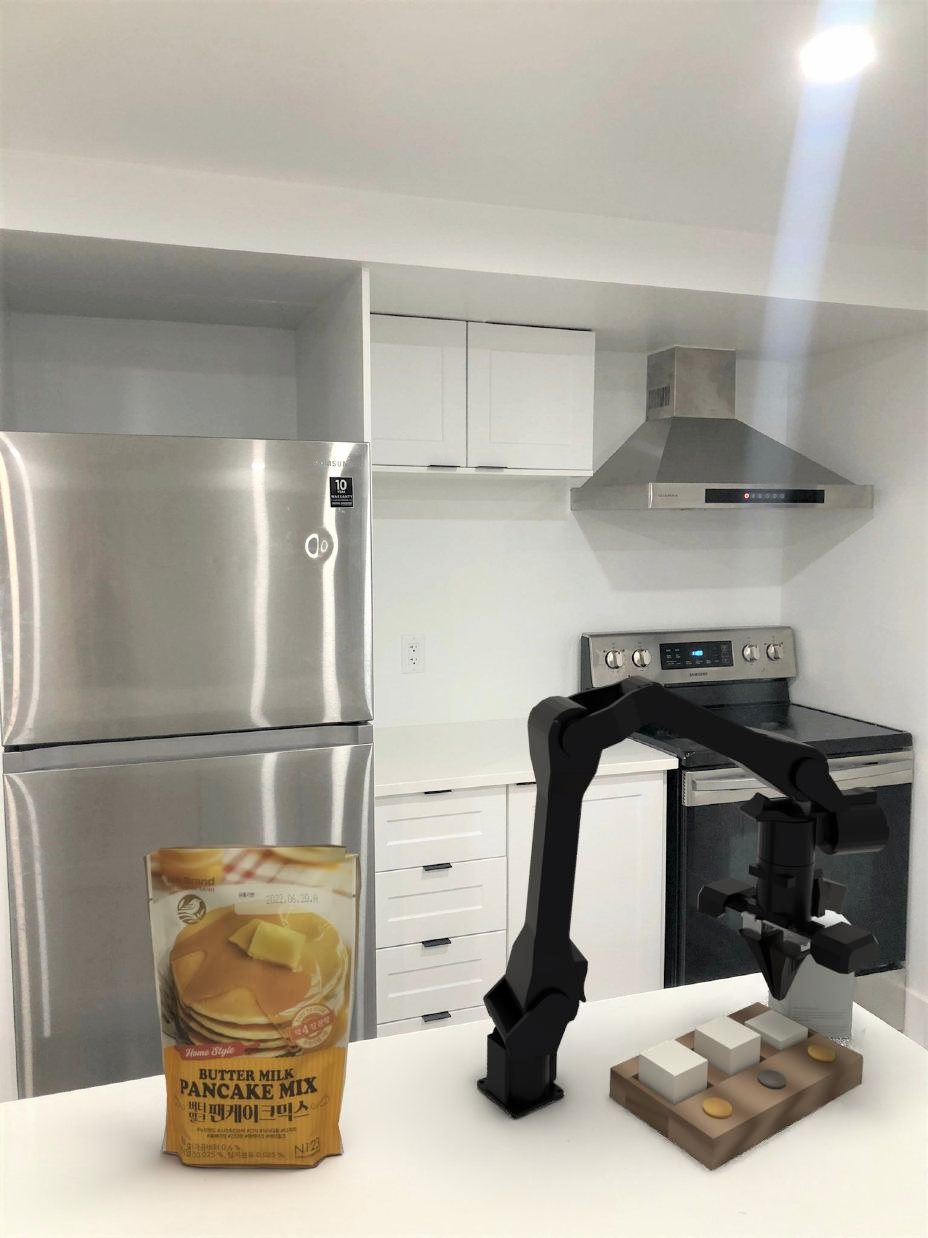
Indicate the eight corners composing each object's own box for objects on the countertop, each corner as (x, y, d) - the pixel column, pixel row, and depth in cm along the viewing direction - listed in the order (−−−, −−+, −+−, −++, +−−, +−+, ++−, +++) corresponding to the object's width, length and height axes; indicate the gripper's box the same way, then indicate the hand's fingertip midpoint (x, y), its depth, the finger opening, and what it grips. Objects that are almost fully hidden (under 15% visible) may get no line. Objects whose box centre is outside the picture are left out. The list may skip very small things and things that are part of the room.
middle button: (729, 1080, 93) (730, 1049, 92) (693, 1058, 96) (694, 1028, 96) (759, 1064, 95) (760, 1035, 95) (723, 1044, 99) (724, 1015, 99)
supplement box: (853, 1039, 104) (859, 931, 103) (786, 1038, 105) (791, 929, 103) (828, 1005, 112) (834, 903, 110) (766, 1004, 112) (771, 902, 111)
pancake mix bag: (162, 1121, 89) (155, 835, 86) (363, 1124, 89) (362, 838, 86) (137, 1170, 82) (128, 862, 79) (354, 1173, 82) (354, 864, 79)
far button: (779, 1071, 98) (780, 1041, 97) (743, 1050, 101) (744, 1022, 101) (806, 1056, 100) (808, 1028, 100) (770, 1037, 104) (771, 1009, 104)
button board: (712, 1170, 83) (713, 1134, 83) (609, 1096, 94) (610, 1064, 93) (861, 1083, 96) (863, 1052, 96) (756, 1027, 107) (758, 998, 106)
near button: (673, 1108, 88) (674, 1076, 88) (638, 1084, 92) (639, 1053, 92) (706, 1091, 91) (707, 1060, 90) (670, 1068, 95) (671, 1038, 94)
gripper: (913, 869, 95) (904, 1014, 97) (760, 820, 111) (755, 946, 112) (849, 893, 89) (840, 1048, 91) (696, 837, 104) (691, 971, 106)
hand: (778, 998), depth 100 cm, fingers closed
